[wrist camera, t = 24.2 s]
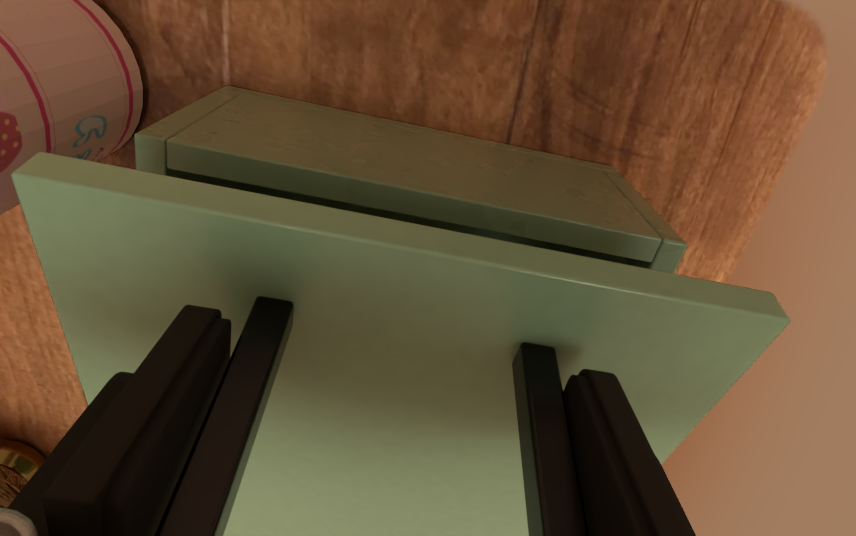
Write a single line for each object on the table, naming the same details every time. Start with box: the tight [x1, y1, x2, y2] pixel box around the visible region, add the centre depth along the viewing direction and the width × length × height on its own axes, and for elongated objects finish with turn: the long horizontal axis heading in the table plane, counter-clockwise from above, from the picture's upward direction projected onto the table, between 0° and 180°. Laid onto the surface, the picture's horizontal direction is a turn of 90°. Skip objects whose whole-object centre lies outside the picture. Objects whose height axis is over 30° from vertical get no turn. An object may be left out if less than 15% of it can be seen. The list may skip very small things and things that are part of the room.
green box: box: [134, 85, 687, 274], centre depth 19 cm, size 15×13×6 cm
